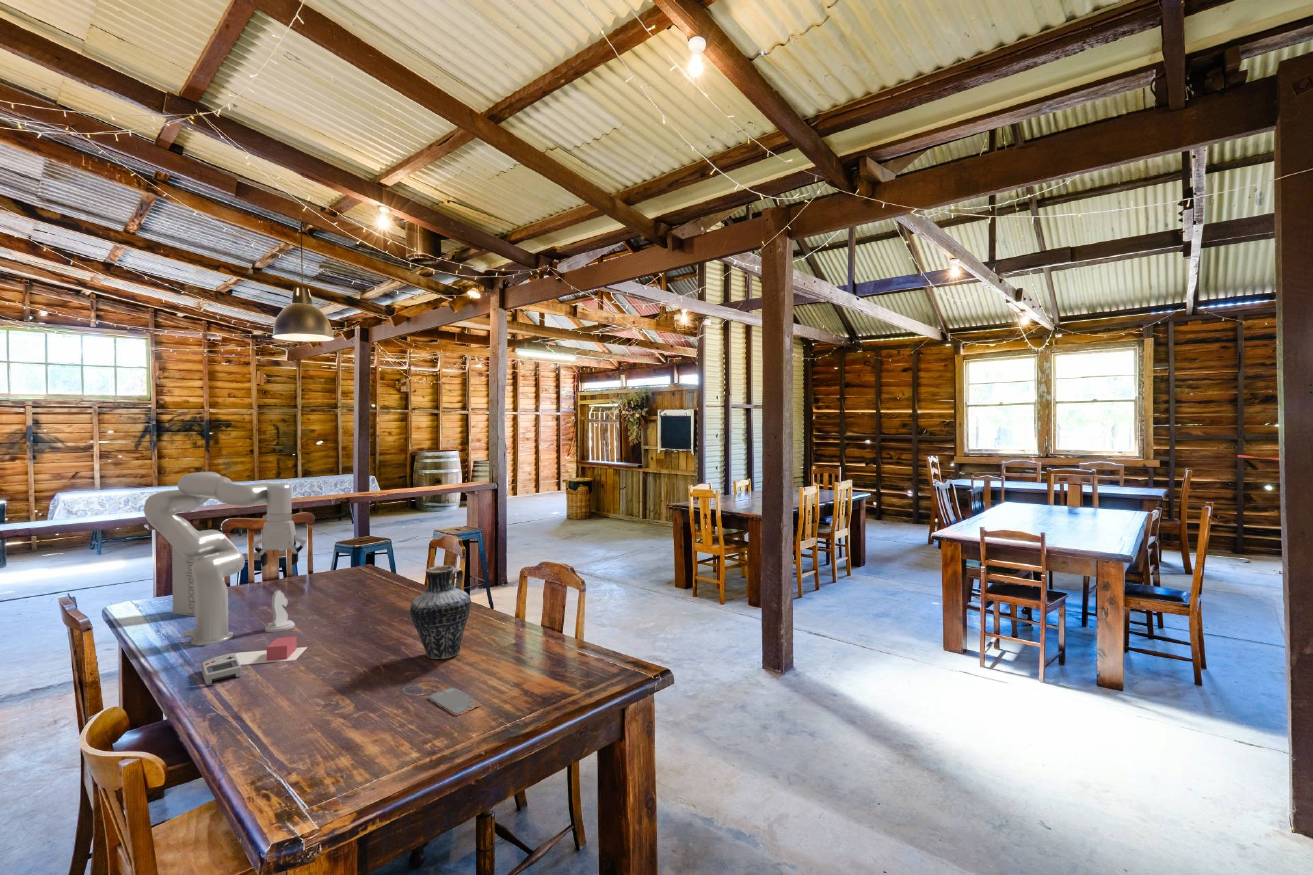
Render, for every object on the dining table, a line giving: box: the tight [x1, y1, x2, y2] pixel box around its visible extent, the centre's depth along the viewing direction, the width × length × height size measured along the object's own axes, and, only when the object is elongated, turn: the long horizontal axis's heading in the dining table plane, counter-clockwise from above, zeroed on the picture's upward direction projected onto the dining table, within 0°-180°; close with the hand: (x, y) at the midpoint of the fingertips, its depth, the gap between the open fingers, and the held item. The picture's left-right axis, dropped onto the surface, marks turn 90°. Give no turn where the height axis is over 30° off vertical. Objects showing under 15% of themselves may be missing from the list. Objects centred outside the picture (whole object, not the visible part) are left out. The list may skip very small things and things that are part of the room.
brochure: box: [171, 545, 201, 617], centre depth 247 cm, size 14×6×30 cm, turn 73°
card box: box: [266, 636, 298, 661], centre depth 198 cm, size 9×6×4 cm, turn 14°
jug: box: [409, 564, 472, 660], centre depth 199 cm, size 21×19×30 cm
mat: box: [235, 646, 308, 666], centre depth 197 cm, size 22×12×1 cm, turn 104°
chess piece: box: [264, 589, 296, 633], centre depth 227 cm, size 10×10×15 cm
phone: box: [427, 686, 475, 714], centre depth 164 cm, size 8×16×1 cm, turn 48°
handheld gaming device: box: [200, 652, 243, 685], centre depth 183 cm, size 9×15×4 cm, turn 43°
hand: (279, 564), depth 212 cm, fingers open, 9 cm apart
